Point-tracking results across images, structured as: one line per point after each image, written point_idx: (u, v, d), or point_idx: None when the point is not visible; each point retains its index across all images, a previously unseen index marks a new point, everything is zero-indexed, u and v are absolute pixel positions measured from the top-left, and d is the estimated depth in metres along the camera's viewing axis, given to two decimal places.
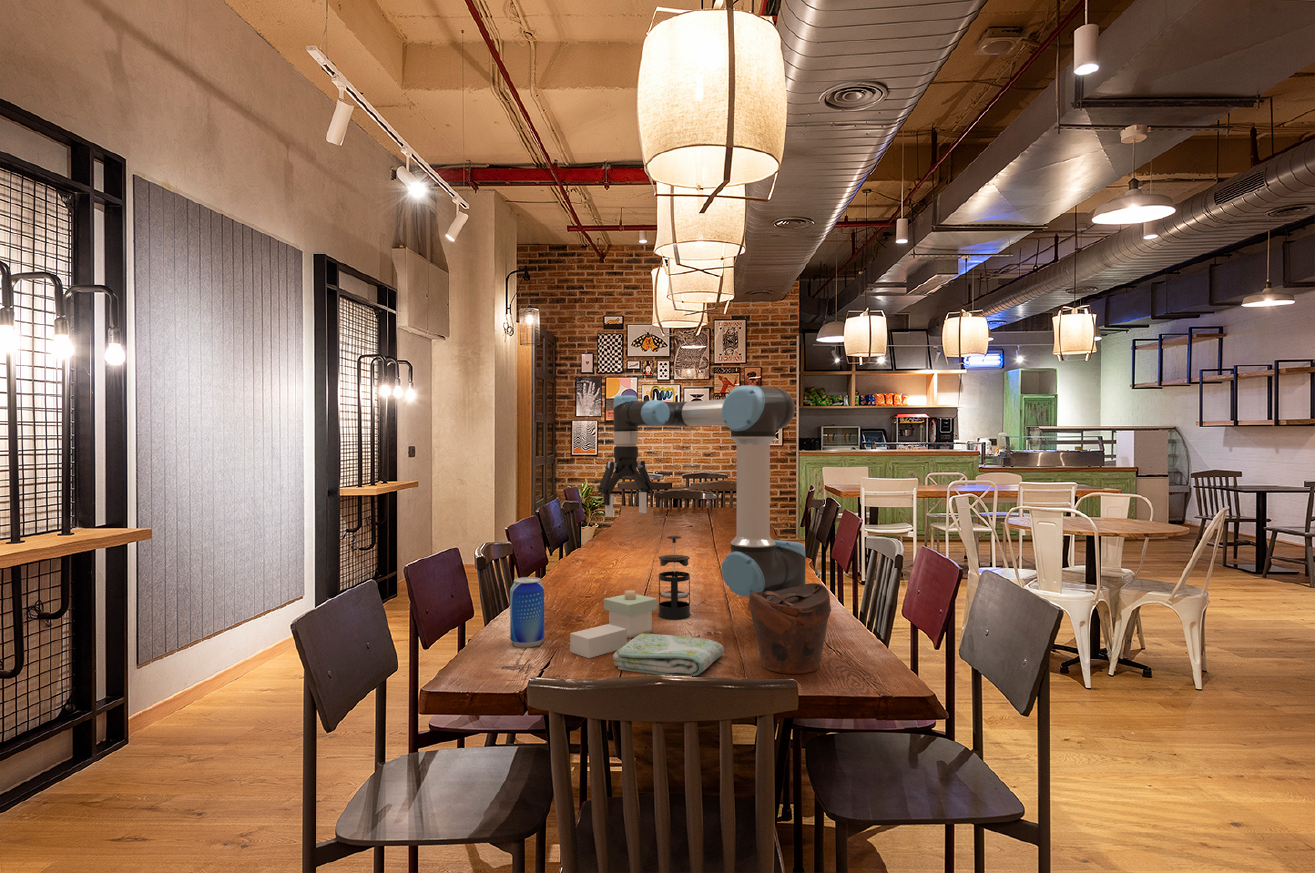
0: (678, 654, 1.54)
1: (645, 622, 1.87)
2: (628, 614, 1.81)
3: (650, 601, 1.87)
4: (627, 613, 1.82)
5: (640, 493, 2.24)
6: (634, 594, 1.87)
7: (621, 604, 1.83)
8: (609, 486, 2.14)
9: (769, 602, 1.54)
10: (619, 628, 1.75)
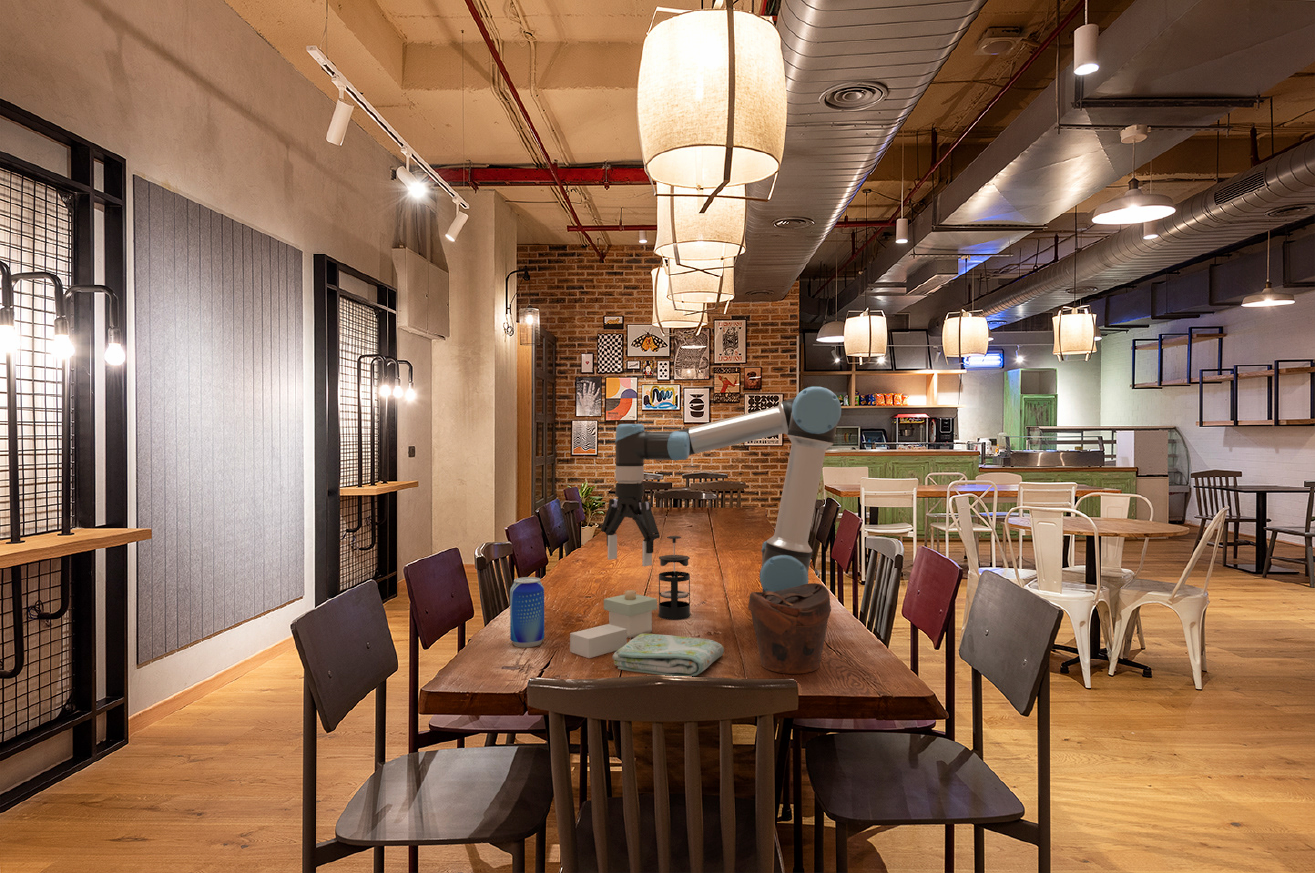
0: (678, 654, 1.54)
1: (645, 622, 1.87)
2: (628, 614, 1.81)
3: (650, 601, 1.87)
4: (627, 613, 1.82)
5: None
6: (634, 594, 1.87)
7: (621, 604, 1.83)
8: None
9: (769, 602, 1.54)
10: (619, 628, 1.75)
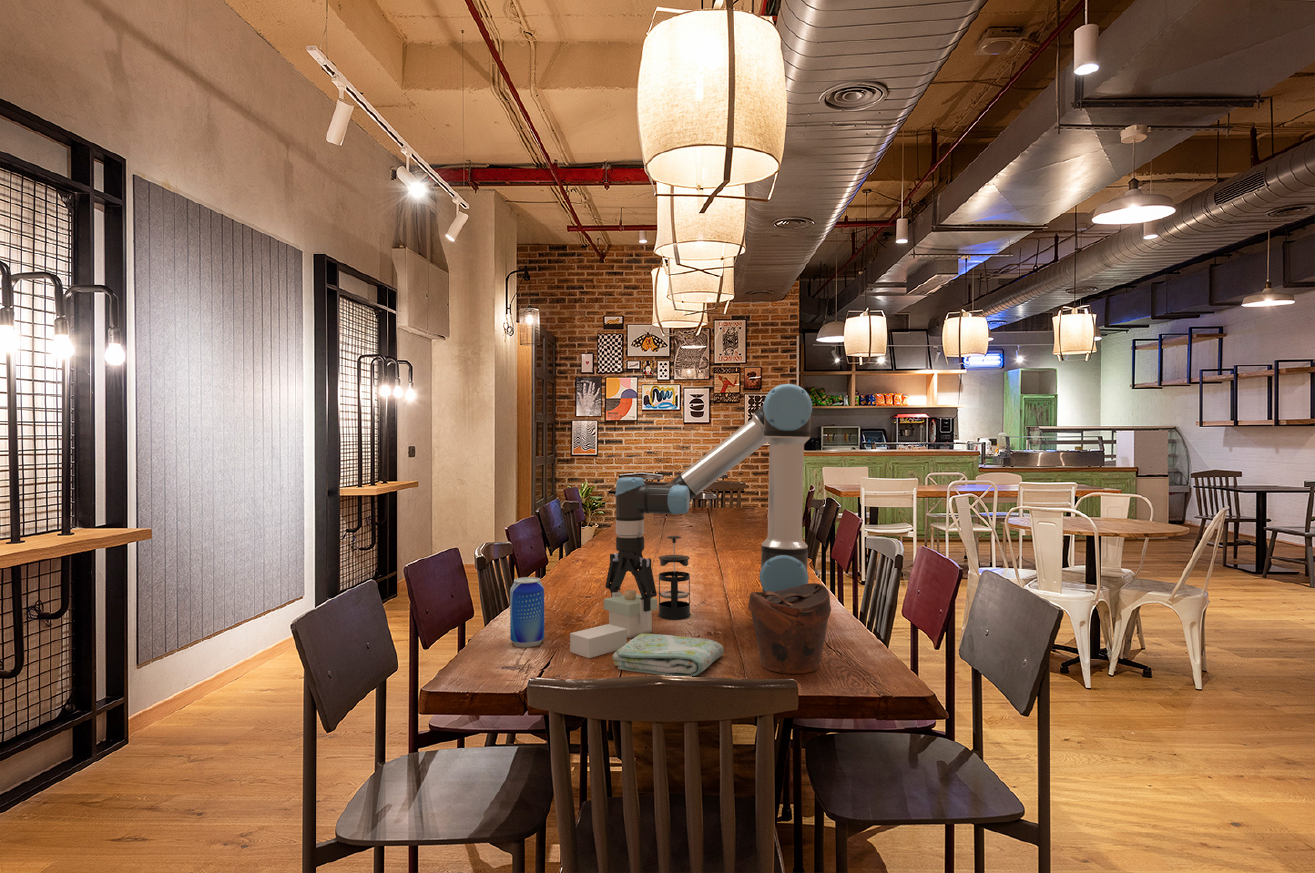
0: (678, 654, 1.54)
1: None
2: (628, 614, 1.81)
3: None
4: (627, 613, 1.82)
5: None
6: (634, 594, 1.87)
7: (621, 604, 1.83)
8: None
9: (769, 602, 1.54)
10: (619, 628, 1.75)
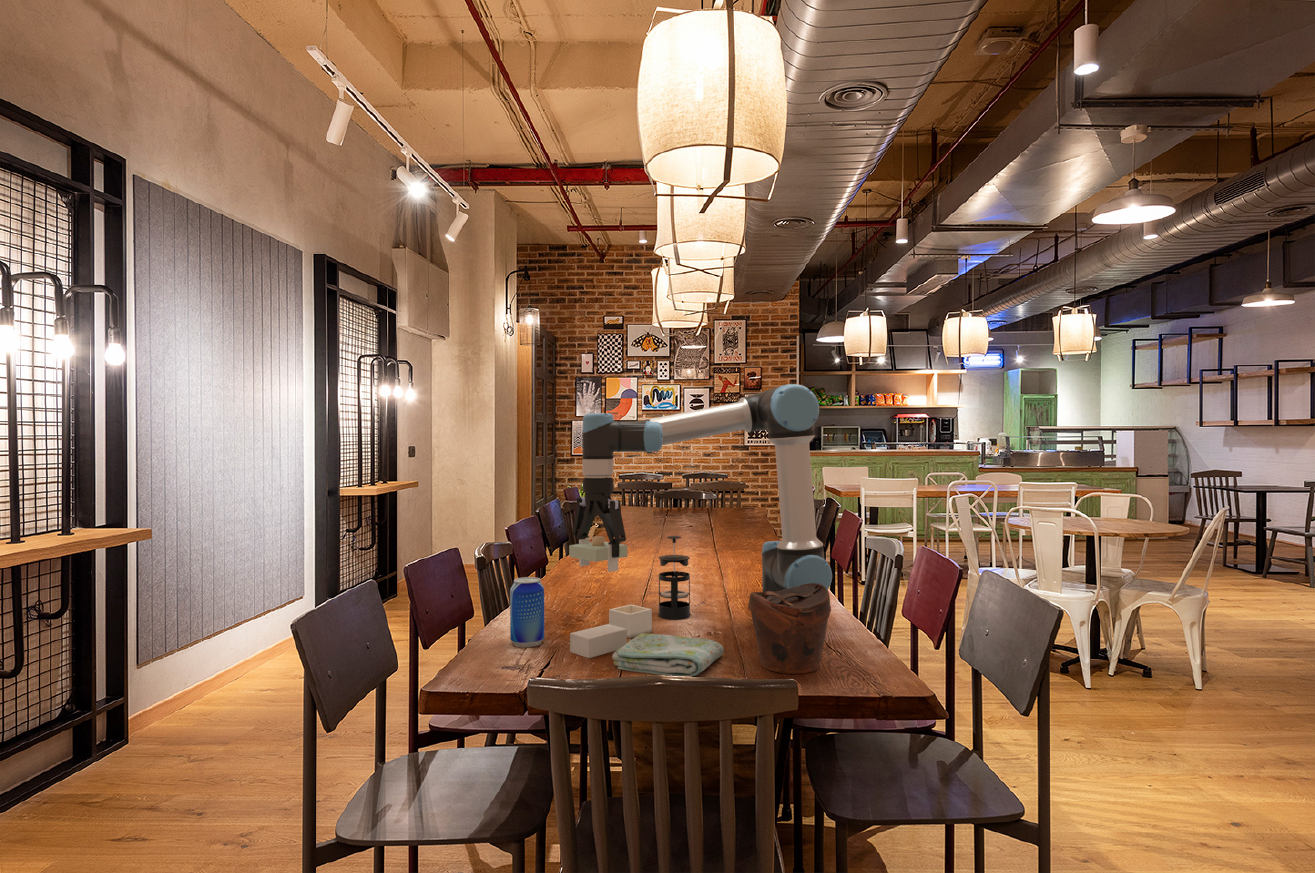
0: (677, 654, 1.54)
1: (645, 622, 1.87)
2: (594, 560, 1.66)
3: (619, 547, 1.71)
4: (593, 559, 1.66)
5: None
6: (602, 540, 1.72)
7: (587, 549, 1.68)
8: None
9: (769, 602, 1.54)
10: (619, 628, 1.75)
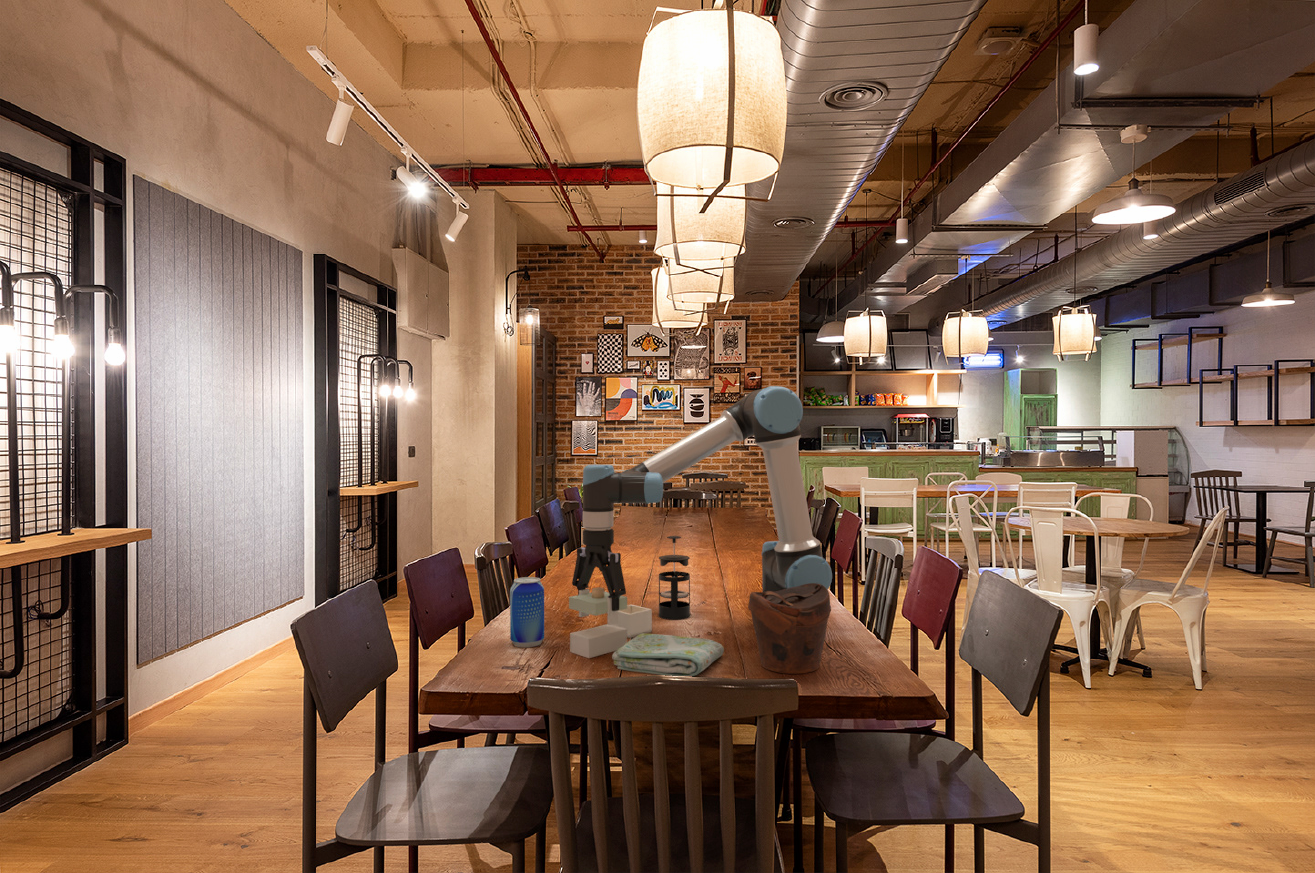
0: (677, 654, 1.54)
1: (645, 622, 1.87)
2: (594, 614, 1.66)
3: (619, 599, 1.71)
4: (593, 612, 1.66)
5: None
6: (602, 592, 1.72)
7: (587, 603, 1.68)
8: None
9: (769, 602, 1.54)
10: (619, 628, 1.75)
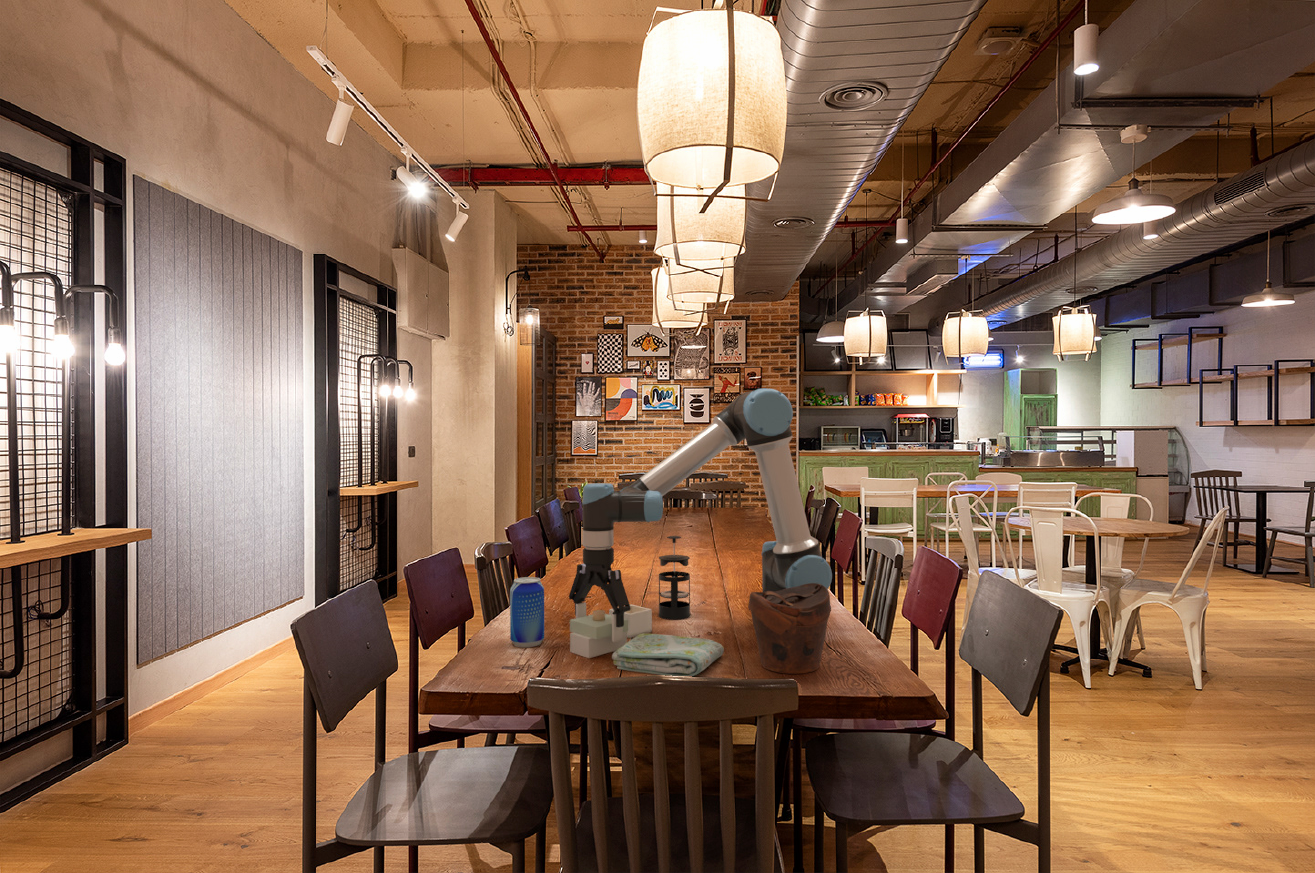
0: (677, 654, 1.54)
1: (645, 622, 1.87)
2: (595, 637, 1.66)
3: None
4: (594, 636, 1.66)
5: None
6: (603, 615, 1.72)
7: (588, 626, 1.68)
8: None
9: (769, 602, 1.54)
10: None
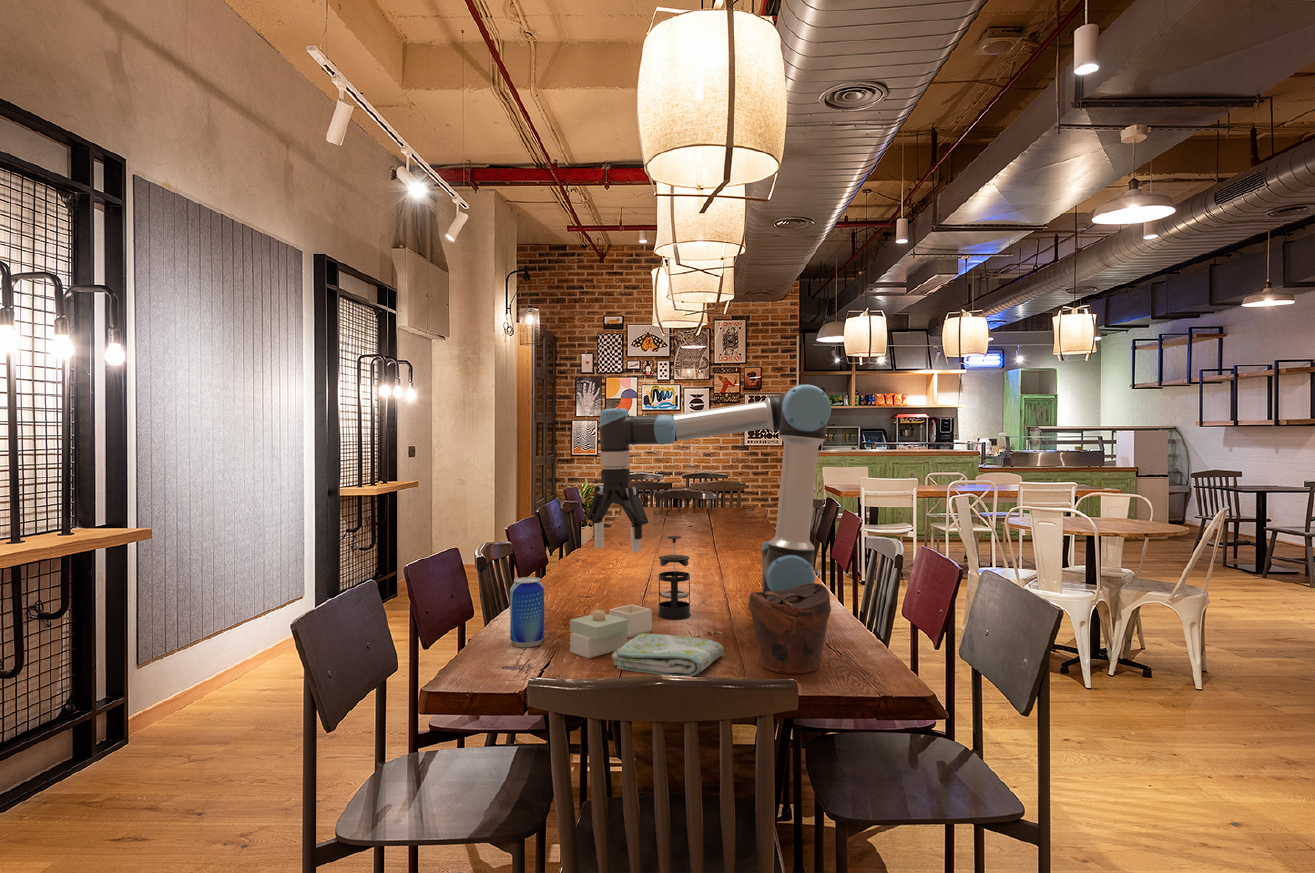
0: (676, 654, 1.54)
1: (645, 622, 1.87)
2: (595, 637, 1.66)
3: (620, 622, 1.71)
4: (594, 636, 1.66)
5: None
6: (603, 615, 1.72)
7: (588, 626, 1.68)
8: None
9: (769, 602, 1.54)
10: None
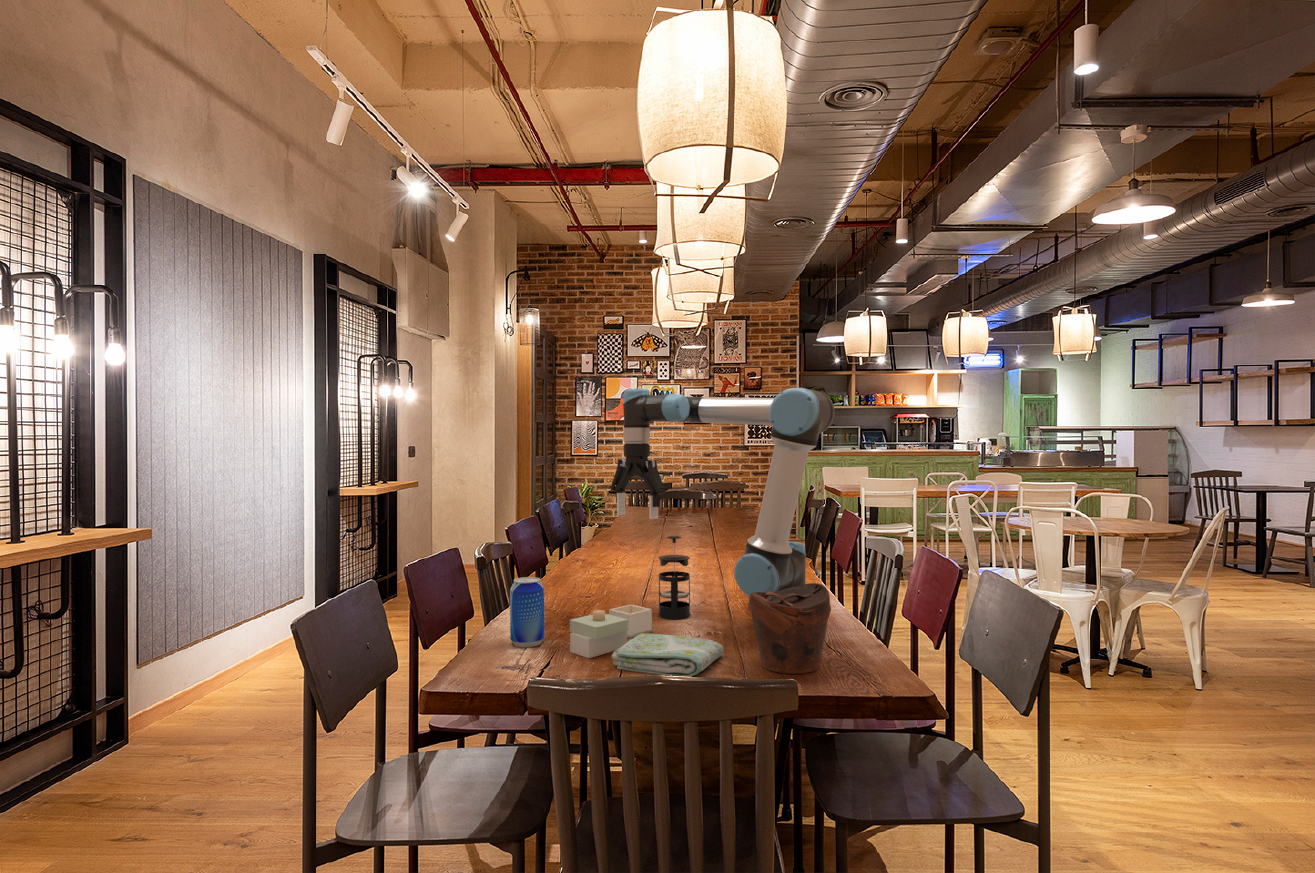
0: (676, 654, 1.54)
1: (645, 622, 1.87)
2: (595, 637, 1.66)
3: (620, 622, 1.71)
4: (594, 636, 1.66)
5: None
6: (603, 615, 1.72)
7: (588, 626, 1.68)
8: None
9: (769, 602, 1.54)
10: None
